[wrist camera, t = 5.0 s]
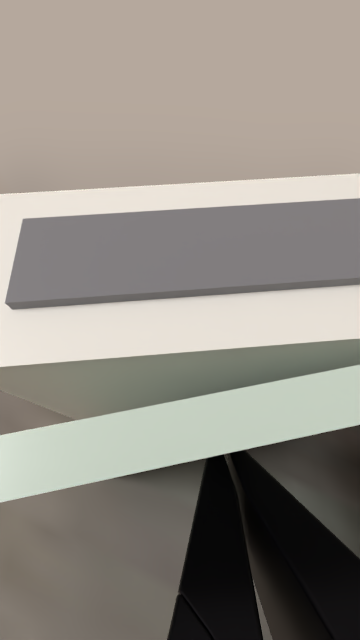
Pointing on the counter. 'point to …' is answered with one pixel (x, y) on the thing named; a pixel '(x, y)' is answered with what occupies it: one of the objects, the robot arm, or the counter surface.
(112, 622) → the counter surface
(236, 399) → the door
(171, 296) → the box
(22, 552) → the counter surface
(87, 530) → the counter surface
